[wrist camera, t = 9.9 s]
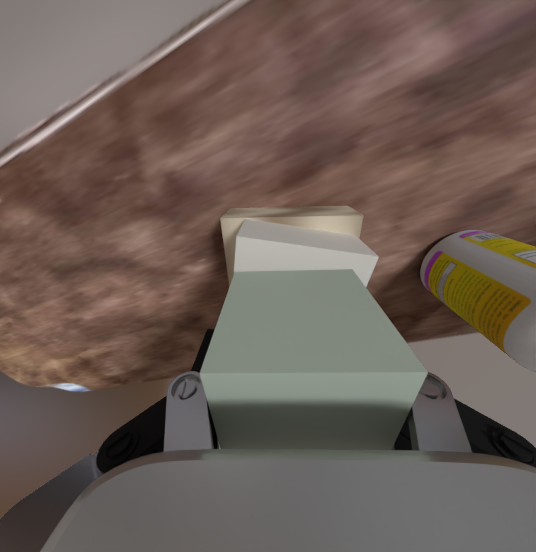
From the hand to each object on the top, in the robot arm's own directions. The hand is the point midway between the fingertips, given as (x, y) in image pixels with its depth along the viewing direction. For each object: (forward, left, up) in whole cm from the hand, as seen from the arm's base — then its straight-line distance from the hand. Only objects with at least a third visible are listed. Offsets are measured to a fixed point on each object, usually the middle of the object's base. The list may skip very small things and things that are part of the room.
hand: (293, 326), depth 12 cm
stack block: (0, 0, -1) cm, 1 cm away
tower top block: (0, 0, -6) cm, 6 cm away
